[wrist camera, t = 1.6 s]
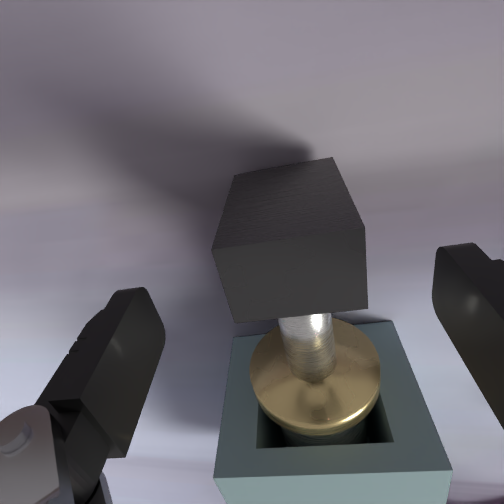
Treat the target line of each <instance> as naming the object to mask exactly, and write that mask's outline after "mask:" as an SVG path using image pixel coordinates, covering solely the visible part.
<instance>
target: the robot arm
mask: <svg viewBox="0 0 504 504" xmlns="http://www.w3.org/2000/svg"><path fill="white" fill-rule="evenodd" d="M432 302H433V306H434V310H435V313H436V315H437V317H438V319H439V321H440V322H441V324H442V326H443V327H444V329H445V331H446V333H447V334H448V336H449V338H450V339H451V341H452V343H453V344H454V346H455V348H456V350H457V351H458V353H459V355H460V356H461V358H462V360H463V361H464V363H465V365H466V366H467V368H468V370H469V372H470V373H471V375H472V377H473V378H474V380H475V382H476V383H477V385H478V387H479V389H480V390H481V392H482V394H483V395H484V397H485V399H486V400H487V402H488V404H489V406H490V407H491V409H492V411H493V412H494V414H495V416H496V417H497V419H498V421H499V423H500V424H501V426H502V428H503V429H504V261H503V260H501V259H498V260H491V259H490V258H489V257H488V256H487V255H486V254H485V253H484V252H483V251H482V250H481V249H480V248H479V247H478V246H477V245H476V244H474V243H465V244H458V245H450V246H443V247H439V248H438V249H437V252H436V258H435V268H434V278H433V288H432ZM164 345H165V329H164V325H163V323H162V321H161V318H160V316H159V314H158V312H157V310H156V308H155V306H154V304H153V301H152V299H151V297H150V295H149V293H148V291H147V290H146V289H145V288H144V287H139V288H132V289H124V290H118V291H116V292H115V293H114V294H113V296H112V297H111V299H110V301H109V302H108V304H107V305H106V307H105V309H104V310H101V311H100V312H99V313H97V314H96V315H95V316H94V317H93V318H92V319H91V320H90V321H89V322H88V323H87V324H86V325H85V327H84V328H83V330H82V332H81V333H80V335H79V336H78V338H77V341H75V342H74V344H73V346H72V347H71V349H70V350H69V354H67V355H66V356H65V358H64V359H63V361H62V363H61V364H60V366H59V367H58V369H57V370H56V372H55V373H54V375H53V377H52V378H51V380H50V381H49V383H48V384H47V386H46V387H45V389H44V391H43V392H42V394H41V395H40V397H39V398H38V400H37V401H36V403H35V404H34V405H31V406H27V407H24V408H21V409H19V410H17V411H15V412H13V413H12V414H10V415H9V416H7V417H6V418H4V419H3V420H2V421H1V422H0V504H113V503H112V499H111V495H110V491H109V487H108V483H107V480H106V477H105V475H104V473H103V472H102V469H103V467H104V464H105V462H106V459H107V458H125V457H126V454H127V452H128V449H129V446H130V443H131V440H132V437H133V434H134V431H135V429H136V426H137V423H138V420H139V417H140V414H141V411H142V408H143V405H144V403H145V400H146V397H147V394H148V391H149V388H150V385H151V382H152V380H153V377H154V374H155V371H156V368H157V365H158V362H159V359H160V356H161V354H162V351H163V348H164Z"/></svg>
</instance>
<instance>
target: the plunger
mask: <svg viewBox="0 0 504 504" xmlns="http://www.w3.org/2000/svg"><path fill="white" fill-rule="evenodd" d="M211 251H212V254H213V257H214V260H215V263H216V266H217V269H218V272H219V275H220V279H221V282H222V285H223V288H224V291H225V294H226V297H227V300H228V303H229V307H230V310H231V313H232V316H233V319H234V322H235V323H243V322H252V321H261V320H270V319H278V323H279V325H278V326H277V327H275V328H273V329H272V330H271V331H269V332H268V333H267V334H266V335H265V336H264V337H263V338H262V339H261V340H260V341H259V343H258V344H257V346H256V347H255V349H254V352H253V354H252V357H251V360H250V366H249V374H250V380H251V383H252V386H253V389H254V392H255V396H256V399H257V401H258V403H259V405H260V407H261V408H262V410H263V411H264V412H265V413H266V415H267V416H268V417H269V418H270V419H271V420H273V421H274V422H275V423H277V424H278V425H280V426H281V429H282V433H283V436H284V440H285V443H286V447H306V446H327V445H348V444H367V437H366V419H365V417H366V416H367V415H368V414H369V412H370V411H371V410H372V408H373V407H374V405H375V403H376V401H377V399H378V395H379V392H380V384H381V376H380V360H379V356H378V353H377V351H376V348H375V347H374V345H373V343H372V342H371V341H370V339H369V338H368V337H367V336H366V335H365V334H364V333H363V332H362V331H361V330H359V329H358V328H356V327H355V326H353V325H351V324H349V323H347V322H345V321H342V320H339V319H336V318H332V317H331V313H334V312H343V311H352V310H361V309H368V295H367V269H366V242H365V226H364V224H363V222H362V220H361V218H360V215H359V213H358V211H357V209H356V207H355V205H354V202H353V200H352V198H351V196H350V194H349V192H348V189H347V187H346V185H345V183H344V181H343V179H342V176H341V174H340V172H339V170H338V168H337V166H336V163H335V161H334V159H333V157H330V158H325V159H319V160H314V161H309V162H303V163H298V164H292V165H287V166H281V167H276V168H271V169H265V170H260V171H254V172H249V173H243V174H238V175H234V178H233V181H232V185H231V188H230V191H229V194H228V198H227V201H226V204H225V207H224V210H223V214H222V217H221V220H220V223H219V227H218V230H217V233H216V236H215V240H214V243H213V246H212V249H211Z"/></svg>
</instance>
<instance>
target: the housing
mask: <svg viewBox="0 0 504 504" xmlns="http://www.w3.org/2000/svg"><path fill="white" fill-rule="evenodd" d="M353 326H355V327H356V328H358V329H359V330H361V331H362V332H363V333H364V334H365V335H366V336H367V337H368V338H369V339H370V341H371V342H372V343H373V345H374V347H375V348H376V351H377V353H378V356H379V360H380V376H381V384H380V392H379V395H378V399H377V401H376V403H375V405H374V407H373V408H372V410H371V411H370V412H369V414H368V415H367V416H366V417H365V419H366V437H367V444H348V445H327V446H306V447H286V443H285V440H284V436H283V433H282V429H281V426H280V425H278V424H277V423H275V422H274V421H273V420H271V419H270V418H269V417H268V416H267V415H266V413H265V412H264V411H263V410H262V408H261V407H260V405H259V403H258V401H257V399H256V396H255V392H254V389H253V386H252V383H251V380H250V374H249V366H250V360H251V357H252V354H253V352H254V349H255V347H256V346H257V344H258V343H259V341H260V340H261V339H262V338H263V337H264V336H265V335H266V334H262V335H252V336H243V337H233V344H232V351H231V358H230V365H229V372H228V379H227V385H226V392H225V399H224V406H223V413H222V420H221V427H220V434H219V441H218V447H217V454H216V461H215V468H214V475H213V479H214V481H215V483H216V485H217V487H218V488H219V490H220V492H221V494H222V496H223V497H224V499H225V501H226V503H227V504H446V502H447V497H448V492H449V488H450V483H451V478H452V473H453V469H452V467H451V464H450V462H449V459H448V457H447V454H446V452H445V449H444V447H443V445H442V442H441V440H440V437H439V435H438V432H437V430H436V427H435V425H434V422H433V420H432V417H431V415H430V412H429V410H428V408H427V405H426V403H425V400H424V398H423V395H422V393H421V390H420V388H419V385H418V383H417V380H416V378H415V376H414V373H413V371H412V368H411V366H410V363H409V361H408V358H407V356H406V353H405V351H404V348H403V346H402V343H401V341H400V339H399V336H398V334H397V331H396V329H395V326H394V324H393V321H388V322H378V323H369V324H359V325H353Z"/></svg>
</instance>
